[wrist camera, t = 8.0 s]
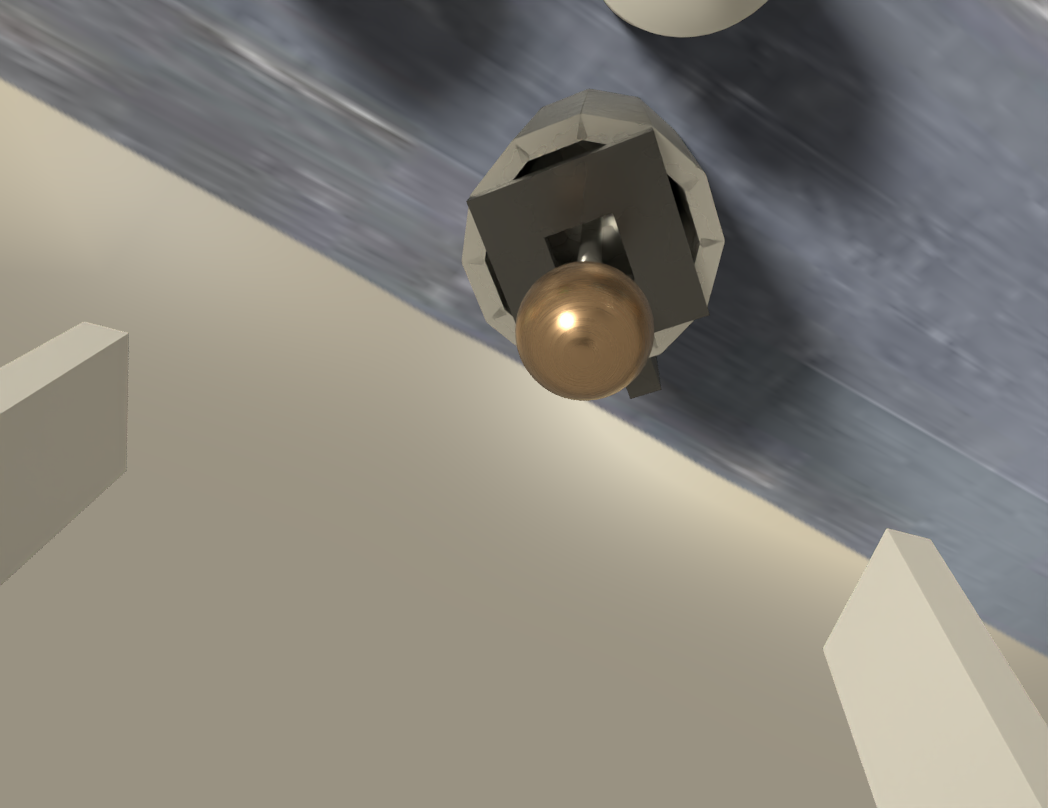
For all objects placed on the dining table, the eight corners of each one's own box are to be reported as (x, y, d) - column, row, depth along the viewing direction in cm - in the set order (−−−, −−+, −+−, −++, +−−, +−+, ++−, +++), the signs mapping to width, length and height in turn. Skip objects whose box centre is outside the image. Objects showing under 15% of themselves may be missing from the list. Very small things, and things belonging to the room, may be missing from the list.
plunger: (643, 108, 40) (676, 177, 21) (688, 256, 43) (753, 434, 24) (496, 165, 42) (404, 275, 23) (548, 304, 45) (506, 503, 26)
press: (655, 61, 46) (680, 76, 30) (720, 282, 51) (769, 392, 35) (479, 132, 48) (419, 179, 33) (557, 335, 53) (537, 460, 38)
